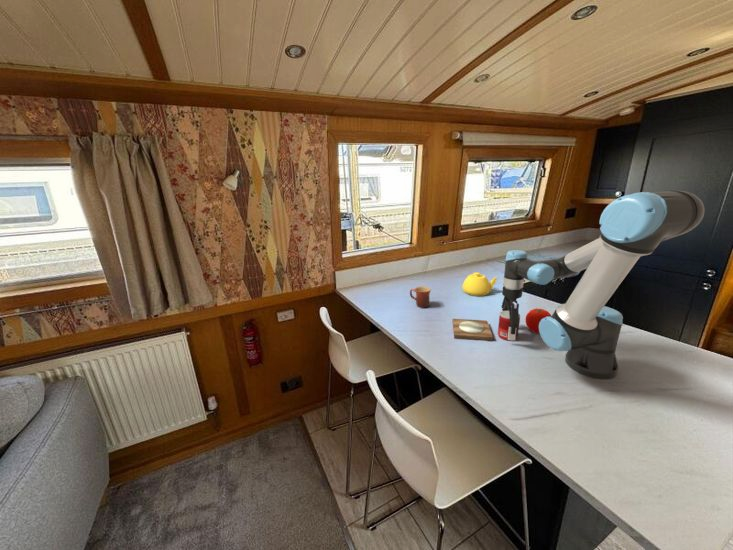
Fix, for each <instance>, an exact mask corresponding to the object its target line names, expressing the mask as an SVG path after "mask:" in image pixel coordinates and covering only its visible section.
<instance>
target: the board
mask: <svg viewBox="0 0 733 550" xmlns="http://www.w3.org/2000/svg"><path fill="white" fill-rule="evenodd" d="M452 331H453V338H454V339H455V340H471V341H484V342H493V341H494V336H493V333H492V331H491V328H490V325H489V322H488V320H481V319H466V318H452Z"/></svg>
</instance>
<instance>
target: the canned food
mask: <svg viewBox="0 0 733 550" xmlns="http://www.w3.org/2000/svg"><path fill="white" fill-rule="evenodd" d="M520 322H521V314H520V313H519V324H520ZM508 325H510V316H509V311H500V312H499V319H498V327H497V328H498V329H497V335H498V337H499V338H500V339H501V340H504V341H509V342H511V341H514V340H508V332H509V327H508ZM519 329H520V327H519V328H517V329H516V337H515V341H516V340H517V339H518V337H519Z"/></svg>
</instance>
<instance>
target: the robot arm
mask: <svg viewBox="0 0 733 550" xmlns="http://www.w3.org/2000/svg"><path fill="white" fill-rule="evenodd" d="M704 215H705V206H704V203H703V201H702V199H701V198H699V197H698V196H697V195H696V194H694V193H691V192H689V191H684V190H665V191H664V190H663V191H653V192H650V191H642V192H640V191H639V192H634V193H632V194H625V195H623V196H620V197H618V198H616V199H614V200H613V201H611V202H610V203H608V205H607V206H605V208H604V209H603V211H602V212H601V214H600V218H599V225H600V227H599V229H600V235H599V237H598V238H596V239H594V240H593V241H590V242H589V243H587V244H584V245H581V247H578V248H577V249H575V250H572V251H570V252H569V253H567V254H565V255H562V256H561V257H559V258H554V259H553V258H551V259H547V260H546V259H544V260H538V261H537V260H533V259H529V258H528V253H527V252H526V251H525V250H520V249H513V250H512V249H511V250H508V251H507V253H506V256H505V260H504V261H505V263H504V275H503V283H502V285H503V286H502V291H501V293H502V294H501V295H502V296H503V300H502V303H501V310H502V311H509V316H510V325H508V327H509V332H508V340H513V341H515V342H516V340H515V337H516V329H517V328H519V329H520V323H519V314H520V313H519V307H520V304H519V302H518V300H517V299H520V298H522V297H523V291H524V290H523V288H524V283H525V282H526V280H527V281H530V282H531V283H534V284H538V285H543V286H545V285H548V283H551V282H552V281H553V280H555V279H562V278H570V277H571V278H572V277H575V276H578V275H579V274H580V273H581V272H583V271H584V270H585V271H584V273H583V274H582V276H581V278H580V280H579V281H578V283H576V286H575V287H574V290H573V291H572V293H571V294H570V295H569V297H568V299H567V300H566V302H565V303H561V304H559V305H557V306H556V308H555V310H554V311H553V313H552V315H551V316H550V317H545V318H543V319H542V320H541V321H540V323H539V332H540V333H539V335H540V338H541V339H542V341H543V342H544V344H545V345H546V346H548V348H550V349H551V350H553V351H556V352H564V351H565V352H566V354H565V357H564V358H565V359H564V361H565V363H566V365H567V366H568V367H569V368H571V369H572V370H574V371H575V372H577V373H580V375H583V376H587V377H591V378H595V379H600V380H601V379H603V380H605V379H606V380H608V379H613V378H615V377H616V376H617V375H618V371H619V365H618V360H617V356H616V350H617V345H618V342H619V337H620V333H621V330H622V326H623V321H624V320H623V319H624V317H623V314H622V313H621V312H620V311H618V310H617V309H614V308H611V307H609V306H606V304H607V303H608V301H609V300H610V298H611V297H612V296H613V295H614V294H615V292H616V290H617V289H618V288H619V286H620V285H621V283H622V282H623V281H624V280H625V278H626V277H627V275H628V274H629V273H630V271H631V270H632V269H633V268H634V266H635V264H636V263H637V261H638V260H639V259H640V258H641V257H643V256H648V255H651V254H653V252H654V251H655V249H656V248H657V247H658V246H659V245H660V244H661V243H662V242H665V241H667V240H671V239H673V238H676V237H679V236H682V235H684V234H687V233H689V232H690V231H693V229H695V228H696V227H697V226H698V225H699V224H700V223H701V222H702V220H703V218H704ZM508 340H507V341H508Z"/></svg>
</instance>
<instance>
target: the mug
mask: <svg viewBox="0 0 733 550" xmlns="http://www.w3.org/2000/svg"><path fill="white" fill-rule="evenodd" d="M413 291H414V293H415V295H416V296H414V295H413V293H412V292H413ZM431 291H432V289H431V288H430V287H429V286H428V287H427V286H417V287H415V288H411V289H410V290H409V296H410V297H411V299H412V300H414V301H415V303H416V306H417V307H418V308H420V307H423V308H422V309H425V308H424V307H426V308H428V307H430V293H431Z"/></svg>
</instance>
